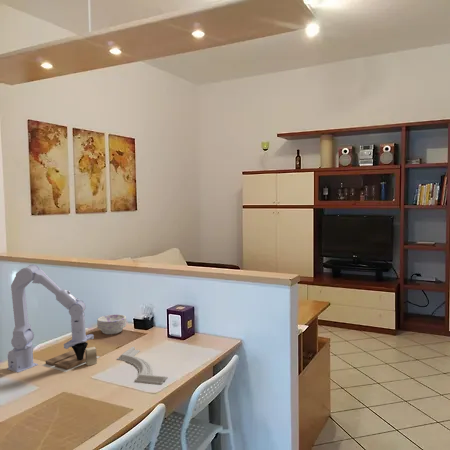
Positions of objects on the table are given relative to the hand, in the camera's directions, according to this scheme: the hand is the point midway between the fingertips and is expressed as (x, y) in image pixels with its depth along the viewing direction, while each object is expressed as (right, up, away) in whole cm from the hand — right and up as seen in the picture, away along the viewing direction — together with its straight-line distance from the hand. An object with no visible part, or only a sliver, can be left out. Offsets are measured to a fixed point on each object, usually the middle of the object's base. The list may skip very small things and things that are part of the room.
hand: (80, 359), depth 187 cm
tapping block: (+4, +2, 0) cm, 5 cm away
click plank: (-2, -1, +1) cm, 3 cm away
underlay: (-5, -2, +3) cm, 6 cm away
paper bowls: (+2, +1, +44) cm, 44 cm away
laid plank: (-9, -1, +5) cm, 10 cm away
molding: (+29, -2, -4) cm, 29 cm away
